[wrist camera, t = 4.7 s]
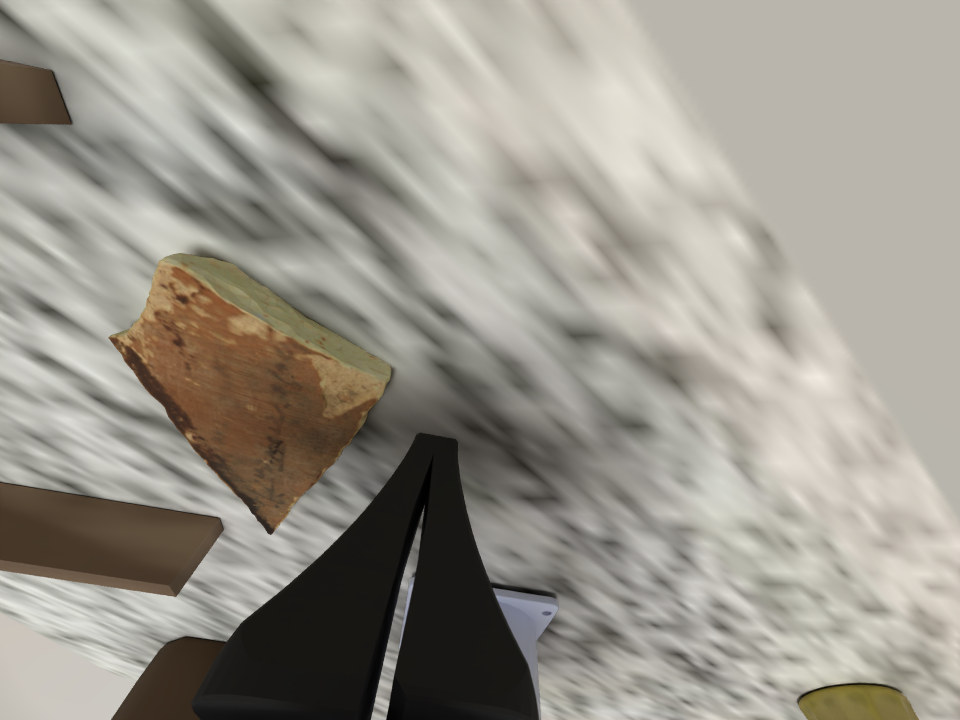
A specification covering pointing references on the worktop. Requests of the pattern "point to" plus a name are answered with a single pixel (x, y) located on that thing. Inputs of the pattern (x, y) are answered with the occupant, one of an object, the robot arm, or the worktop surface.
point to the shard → (249, 380)
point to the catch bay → (78, 519)
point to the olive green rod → (856, 704)
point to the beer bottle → (170, 682)
